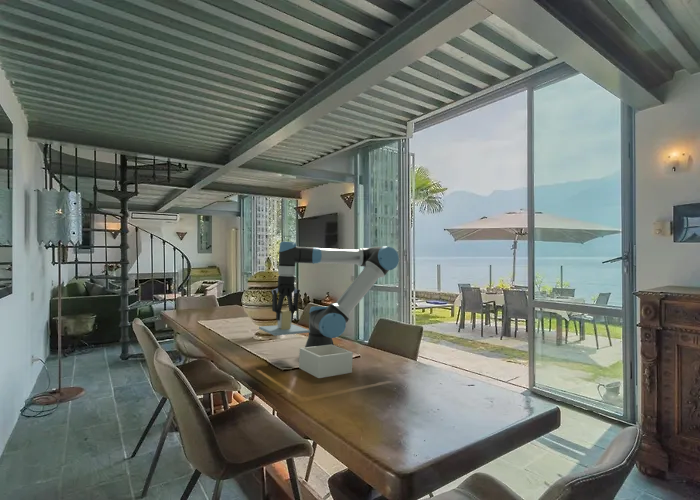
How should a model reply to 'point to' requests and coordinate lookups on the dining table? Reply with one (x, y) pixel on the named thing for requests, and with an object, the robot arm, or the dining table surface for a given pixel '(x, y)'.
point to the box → (325, 360)
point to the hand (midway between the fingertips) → (284, 327)
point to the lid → (284, 326)
